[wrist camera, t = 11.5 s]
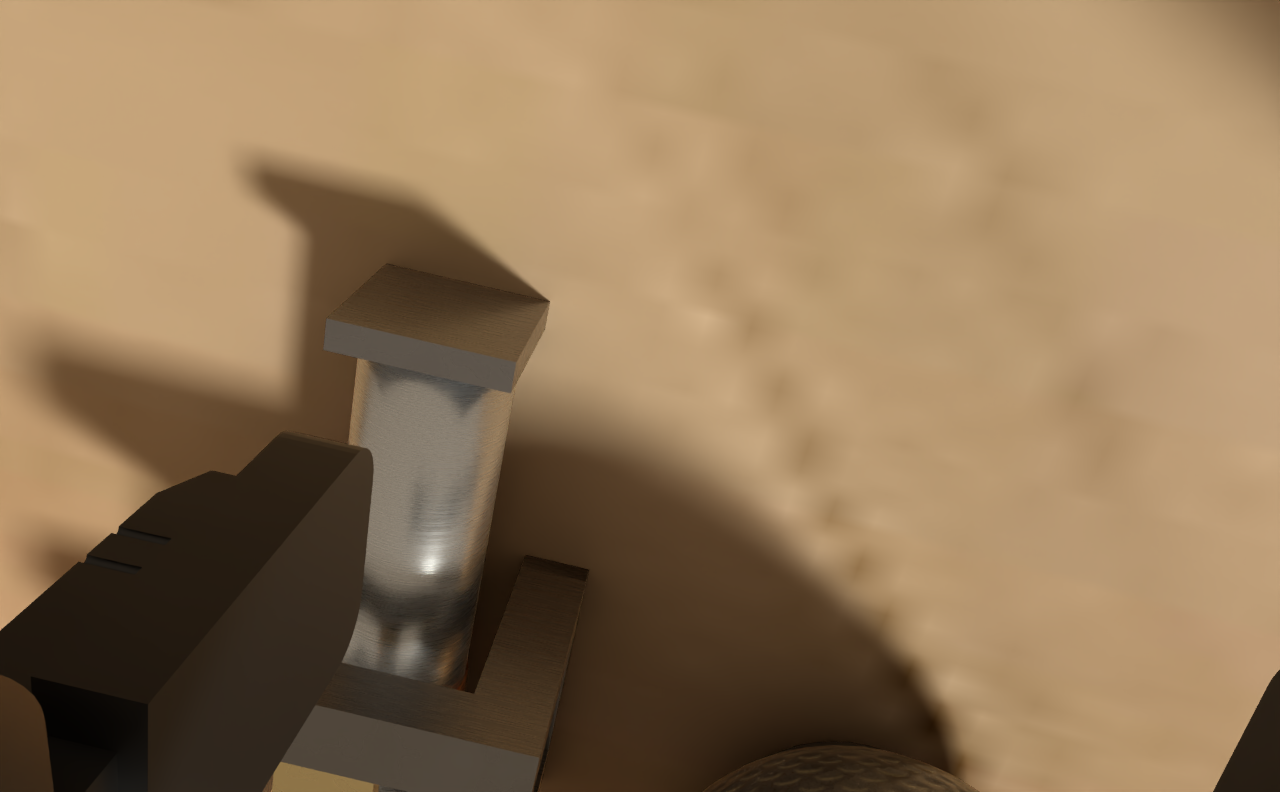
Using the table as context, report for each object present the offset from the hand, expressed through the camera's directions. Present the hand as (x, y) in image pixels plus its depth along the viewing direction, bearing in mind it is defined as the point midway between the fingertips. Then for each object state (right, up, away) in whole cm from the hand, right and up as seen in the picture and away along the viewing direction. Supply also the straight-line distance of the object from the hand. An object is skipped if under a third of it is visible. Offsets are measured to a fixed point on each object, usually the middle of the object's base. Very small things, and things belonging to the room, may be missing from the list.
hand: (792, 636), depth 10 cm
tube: (-9, -4, +31) cm, 33 cm away
